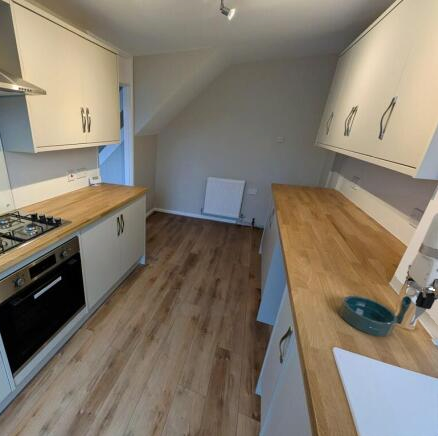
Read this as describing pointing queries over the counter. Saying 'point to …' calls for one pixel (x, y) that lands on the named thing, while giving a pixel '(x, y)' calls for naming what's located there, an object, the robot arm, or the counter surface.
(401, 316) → the beer glass
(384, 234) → the counter surface
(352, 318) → the bowl
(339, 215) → the counter surface
